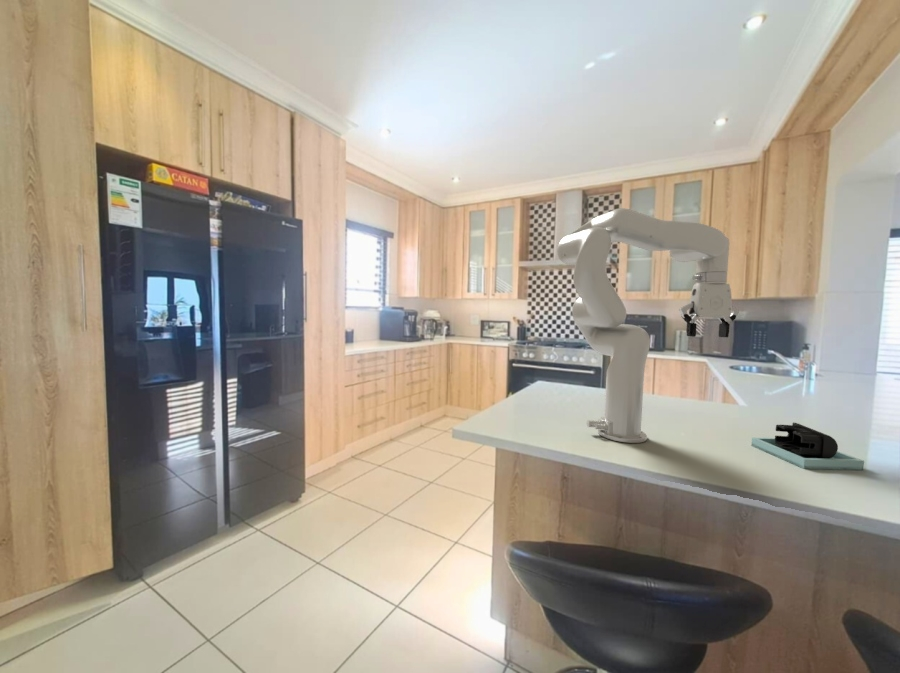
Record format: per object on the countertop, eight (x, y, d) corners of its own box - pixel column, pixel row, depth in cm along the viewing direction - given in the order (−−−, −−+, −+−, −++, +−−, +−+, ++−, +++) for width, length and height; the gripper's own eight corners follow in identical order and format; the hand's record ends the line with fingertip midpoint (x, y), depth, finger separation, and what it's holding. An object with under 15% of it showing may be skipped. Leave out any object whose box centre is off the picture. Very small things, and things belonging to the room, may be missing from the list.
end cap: (837, 464, 85) (839, 435, 85) (801, 461, 86) (804, 433, 86) (804, 448, 95) (806, 423, 95) (772, 446, 96) (774, 421, 96)
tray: (803, 468, 84) (804, 459, 83) (751, 445, 98) (752, 437, 98) (863, 470, 84) (864, 460, 83) (802, 446, 98) (802, 438, 98)
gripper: (690, 277, 105) (686, 337, 106) (750, 278, 105) (746, 338, 106) (674, 280, 113) (671, 335, 114) (730, 281, 113) (726, 336, 114)
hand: (707, 336), depth 110 cm, fingers open, 9 cm apart
